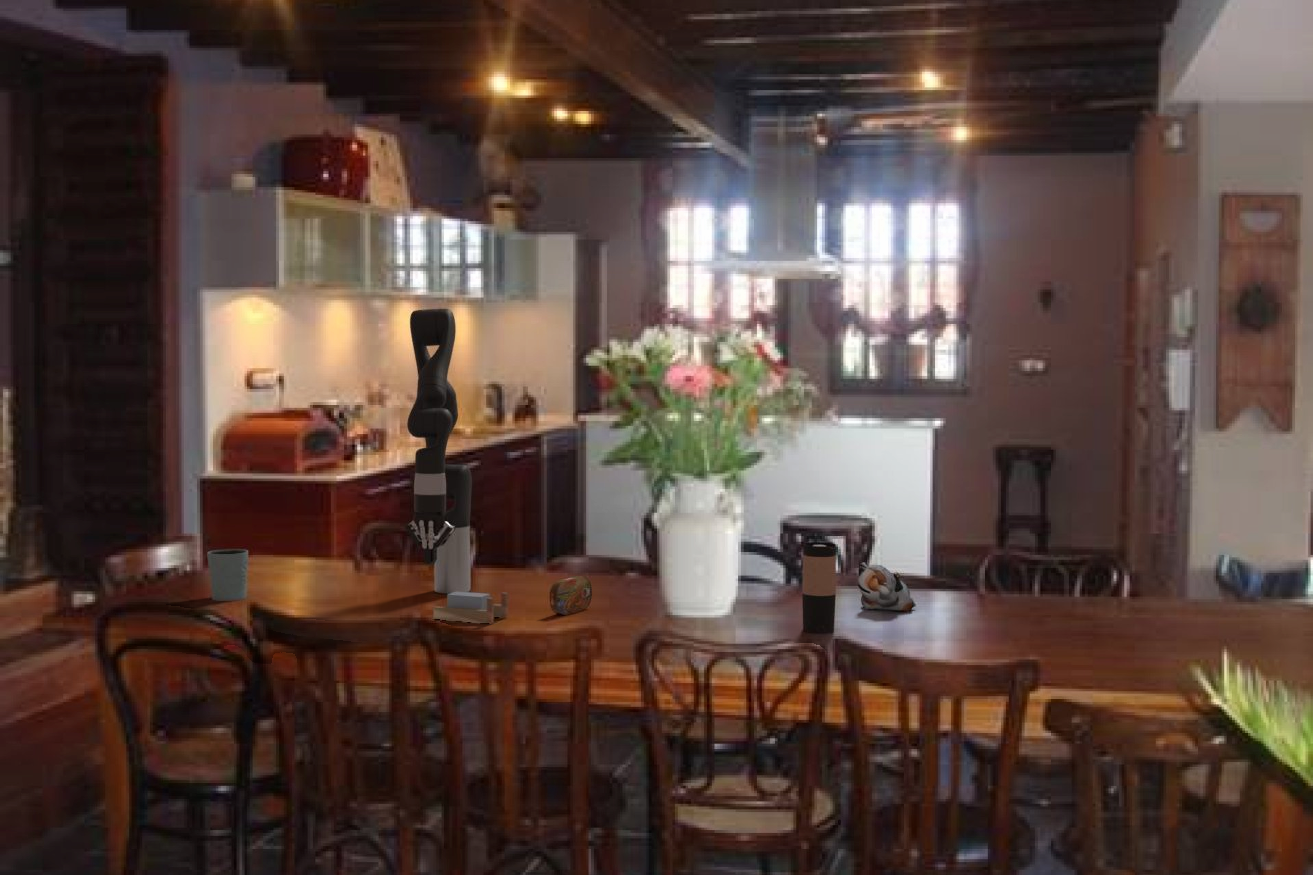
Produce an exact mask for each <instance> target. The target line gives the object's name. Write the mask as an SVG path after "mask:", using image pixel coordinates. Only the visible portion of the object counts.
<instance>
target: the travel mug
mask: <svg viewBox="0 0 1313 875" xmlns="http://www.w3.org/2000/svg"><path fill="white" fill-rule="evenodd" d="M802 546H803V547H802V548H803V549H802V551H803V552H802V591H801V592H802V595H801V598H802V600H801V601H802V605H801V606H802V631H803V632H807V633H810V632H812V633H811V634H829V633H828V632H830V633H834V631H835V616H836V615H835V614H836V595H837V594H836V593H837V592H836V591H837V590H836V589H837V586H836V585H837V582H836V581H837V575H836V574H837V573H836V572H837V571H836V570H837V569H836V568H837V564H836V563H837V558H836V557H837V545H836V544H835V543H834V542H824V541H808V542H804V543H803V544H802Z"/></svg>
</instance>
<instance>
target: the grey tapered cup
mask: <svg viewBox="0 0 1313 875" xmlns="http://www.w3.org/2000/svg"><path fill="white" fill-rule="evenodd" d="M206 556H207V557H206V558H207V564H208V569H209V570H208V571H209V580H210V593H211V599H212V600H213V601H216V602H234V601H235V602H236V601H242V600H245V599H247V597H248V595H247V594H248V585H247V584H248V581H247V580H248V563H249V550H248V549H241V548H229V549H228V548H227V549H215V550H209V551H207V553H206Z"/></svg>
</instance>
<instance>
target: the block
mask: <svg viewBox="0 0 1313 875" xmlns="http://www.w3.org/2000/svg"><path fill="white" fill-rule="evenodd" d="M446 594H447V593H446ZM487 598H491V593H481V592H471V591H468V592H457V591H456V592H453V593H450V594H447V596H446V600H447V602H446V604H447V605H446V607H450V608H463V609H477V610H487Z"/></svg>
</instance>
